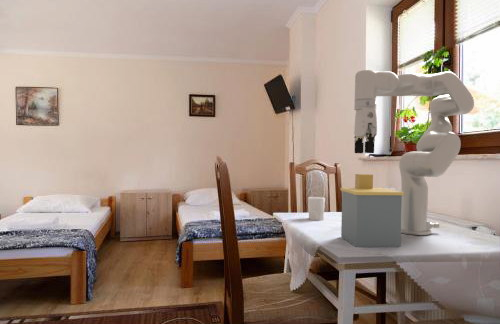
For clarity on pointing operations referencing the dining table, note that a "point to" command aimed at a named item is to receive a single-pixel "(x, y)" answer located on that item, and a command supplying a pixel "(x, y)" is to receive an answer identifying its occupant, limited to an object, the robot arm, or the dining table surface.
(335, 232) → the dining table surface
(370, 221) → the tub
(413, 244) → the dining table surface
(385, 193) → the lid
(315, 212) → the white cup
